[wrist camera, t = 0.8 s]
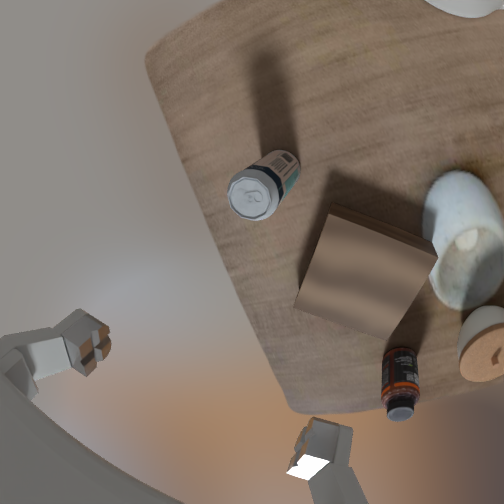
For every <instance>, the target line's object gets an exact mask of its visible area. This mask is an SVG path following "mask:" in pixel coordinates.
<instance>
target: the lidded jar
mask: <svg viewBox="0 0 504 504" xmlns="http://www.w3.org/2000/svg"><path fill="white" fill-rule="evenodd" d="M457 350H458V359H459V368H460V372H461V374H462V375H463V377H464V378H466V379H468V380H470V381H474V382H483V381H488V380H491V379H494V378H496V377H499V376H500V375H502V374H504V308H502V307H499V306H494V305H493V306H482V307H479V308H477V309H475V310H474V311H473V312H472V313H471V314H470V315H469V316H468V318H467V319H466V320H465V322H464V323H463V325H462V327H461V329H460V332H459V336H458V342H457Z"/></svg>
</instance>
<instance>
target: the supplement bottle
mask: <svg viewBox="0 0 504 504" xmlns="http://www.w3.org/2000/svg"><path fill="white" fill-rule="evenodd" d="M419 397H420V392H419V378H418V365H417V357H416V354H415V352H414V351H412V350H411V349H409V348H396V349H393V350H391V351H389V352H388V353H387V354H386V355H385V356H384V358H383V361H382V391H381V402H382V405H383V406H384V407H385V408H386V409H387V417H388V419H390V420H392V421H404V420H407V419H409V418H411V417H412V416H413V414H414V406H415V405H416V403H417V402H418V400H419Z"/></svg>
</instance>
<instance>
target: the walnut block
mask: <svg viewBox="0 0 504 504" xmlns="http://www.w3.org/2000/svg"><path fill="white" fill-rule="evenodd" d="M437 259H438V255H437V253H436V251H435V248H434V246H433V244H432V242H430V241H427V240H425V239H423V238H421V237H418V236H416V235H414V234H411V233H409V232H407V231H404V230H402V229H399V228H397V227H395V226H392V225H390V224H387V223H385V222H382V221H380V220H377V219H375V218H372V217H370V216H367V215H365V214H362V213H359V212H357V211H354V210H352V209H349V208H346V207H344V206H341V205H338V204H335V203H333V202H332V203H331V206H330V209H329V212H328V215H327V217H326V220H325V223H324V226H323V229H322V231H321V234H320V237H319V239H318V242H317V245H316V248H315V250H314V253H313V256H312V258H311V261H310V263H309V266H308V269H307V271H306V274H305V276H304V279H303V281H302V284H301V287H300V289H299V292H298V295H297V297H296V300H295V303H294V306H293V308H296V309H299V310H301V311H304V312H307V313H310V314H312V315H315V316H318V317H320V318H323V319H326V320H329V321H332V322H334V323H337V324H340V325H343V326H345V327H348V328H351V329H354V330H357V331H360V332H362V333H365V334H368V335H371V336H374V337H377V338H380V339H383V340H386V341H387V339H388V338H389V336H390V335H391V334H392V332H393V331H394V329H395V328H396V326H397V325H398V323H399V322H400V320H401V319H402V317H403V316H404V314H405V313H406V311H407V310H408V308H409V307H410V305H411V304H412V302H413V300H414V299H415V297H416V296H417V294H418V292H419V291H420V289H421V287H422V286H423V284H424V282H425V281H426V279H427V277H428V275H429V274H430V272H431V270H432V268H433V267H434V265H435V263H436V261H437Z"/></svg>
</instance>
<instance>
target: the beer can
mask: <svg viewBox="0 0 504 504" xmlns="http://www.w3.org/2000/svg"><path fill="white" fill-rule="evenodd" d="M299 176H300V165H299V162H298V160H297V159H296V157H295V156H293V155H292V154H291V153H289V152H287V151H284V150H275V151H272V152H270V153H269V154H267V155H266V156H265V157H263V158H261V159H260V160H258V161H257V162H255V163H254V164H252V165H250V166H249V167H247V168H246V169H244V170H243V171H240V172H238V173H237V174H236V175H234V176H233V178H232V179H231V180H230V183H229V185H228V190H227V195H228V200H229V203H230V207H231V209H232V210H233V211H235V212H236V213H237V214H238V215H239V216H240V217H241V218H246V219H249V220H262V219H265V218H267V217H269V216H270V215H272V214H273V213H274V211H275V210H276V208H277V207H278V206H279V204H280V203H281V202H282V200H283V199H284V198H285V196H286V195H287V194H288V192H289V191H290V190H291V188H292V187H293V186H294V184H295V183H296V182H297V180H298V178H299Z"/></svg>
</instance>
